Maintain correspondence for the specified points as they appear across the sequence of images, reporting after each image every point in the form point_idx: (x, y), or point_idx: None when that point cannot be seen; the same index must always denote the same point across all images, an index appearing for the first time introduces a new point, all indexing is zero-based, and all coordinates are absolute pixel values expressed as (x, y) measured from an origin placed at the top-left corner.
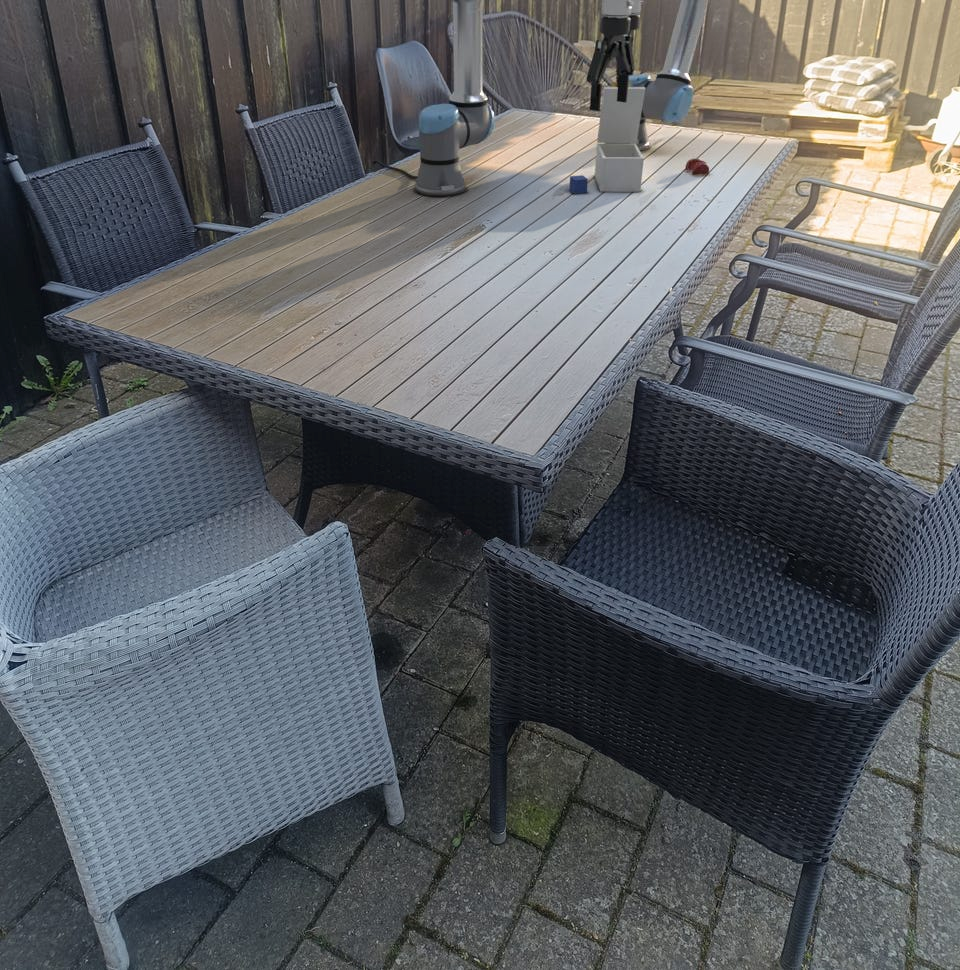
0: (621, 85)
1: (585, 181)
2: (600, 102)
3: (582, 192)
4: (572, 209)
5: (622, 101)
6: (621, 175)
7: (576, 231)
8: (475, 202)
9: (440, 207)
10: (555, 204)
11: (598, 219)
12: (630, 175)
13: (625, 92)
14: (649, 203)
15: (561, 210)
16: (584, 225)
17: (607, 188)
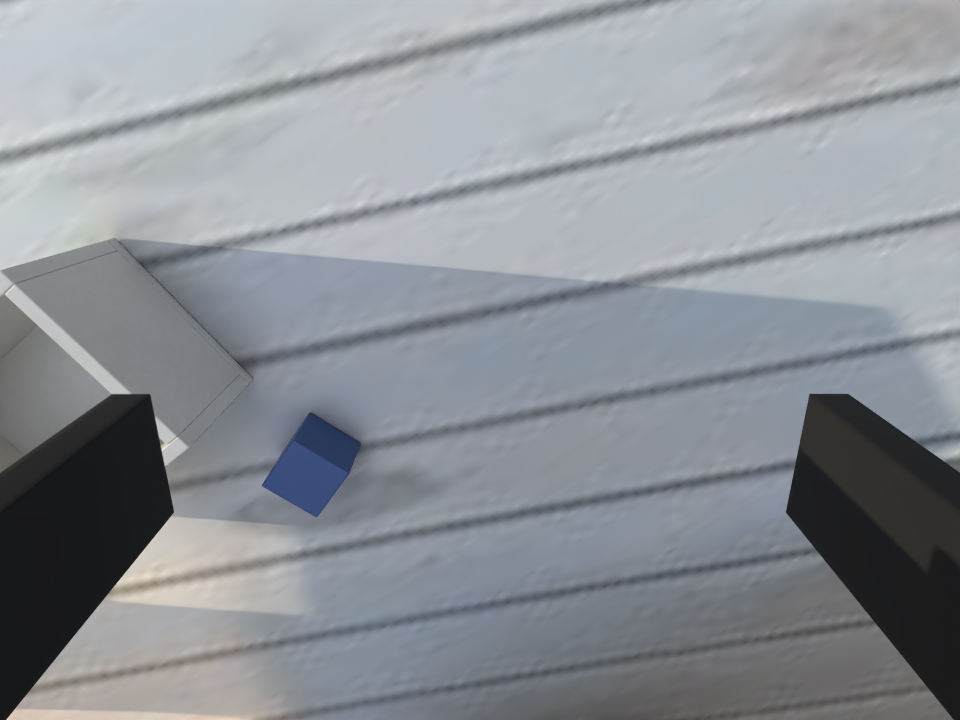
0: (24, 614)
1: (305, 440)
2: (873, 442)
3: (327, 424)
4: (539, 339)
5: (153, 438)
6: (151, 334)
7: (794, 161)
8: (682, 642)
9: (794, 689)
10: (525, 426)
11: (591, 173)
12: (114, 299)
13: (70, 469)
14: (226, 103)
15: (578, 366)
16: (701, 178)
17: (225, 360)
